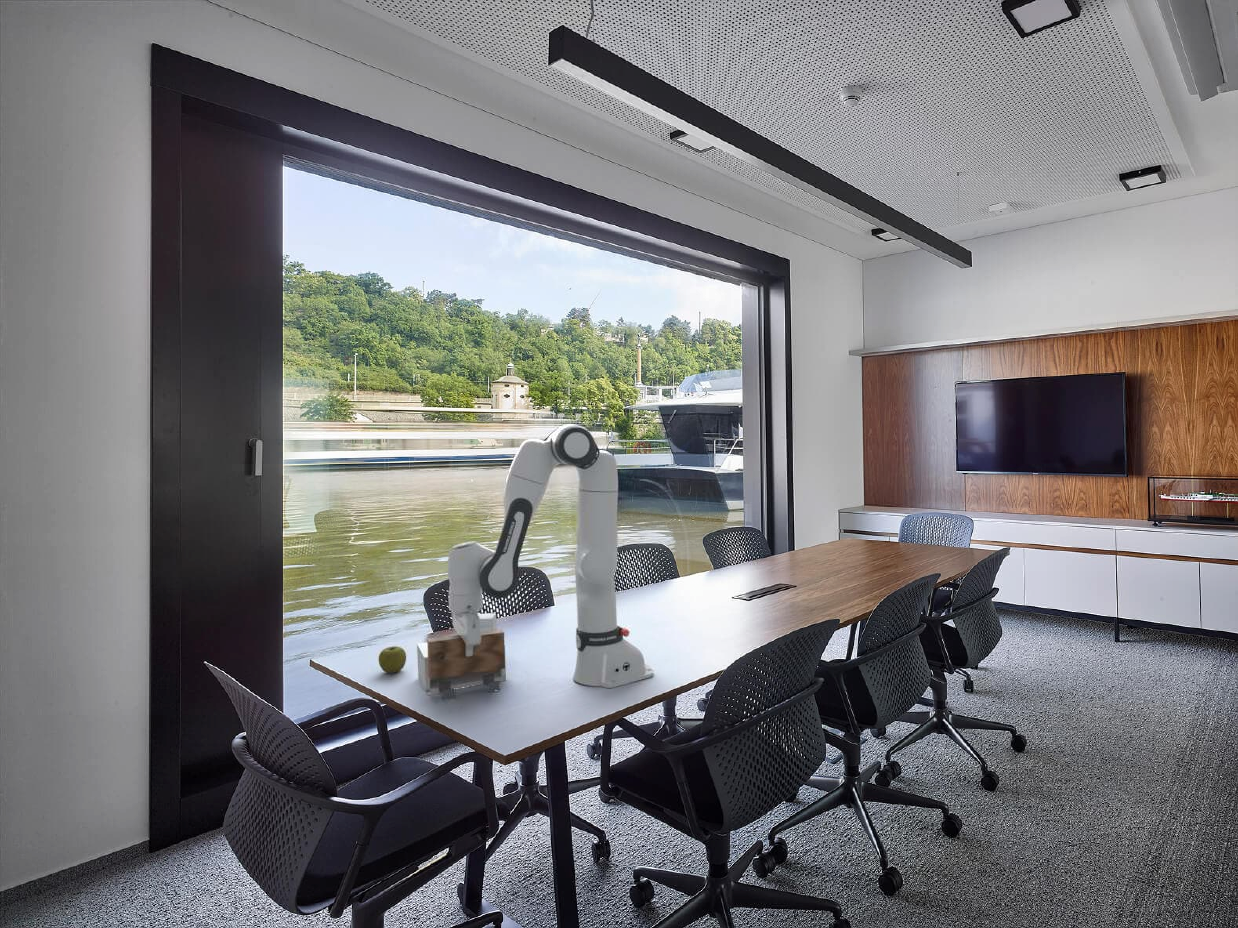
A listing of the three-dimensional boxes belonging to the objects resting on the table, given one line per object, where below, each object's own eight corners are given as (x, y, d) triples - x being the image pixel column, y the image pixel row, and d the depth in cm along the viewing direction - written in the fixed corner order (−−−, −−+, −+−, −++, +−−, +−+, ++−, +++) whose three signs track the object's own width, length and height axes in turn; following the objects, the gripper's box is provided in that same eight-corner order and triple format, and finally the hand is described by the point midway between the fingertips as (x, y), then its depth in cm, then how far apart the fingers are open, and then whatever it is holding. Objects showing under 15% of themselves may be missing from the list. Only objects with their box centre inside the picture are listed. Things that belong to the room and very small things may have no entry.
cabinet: (494, 666, 211) (492, 632, 210) (512, 688, 192) (511, 652, 191) (418, 678, 202) (417, 643, 202) (429, 702, 183) (428, 664, 183)
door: (502, 665, 196) (501, 629, 195) (505, 669, 192) (504, 633, 192) (428, 676, 188) (427, 639, 187) (430, 680, 184) (429, 643, 184)
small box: (498, 653, 223) (496, 612, 222) (494, 660, 216) (492, 618, 216) (472, 654, 223) (470, 613, 222) (467, 660, 216) (466, 618, 216)
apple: (373, 675, 205) (372, 651, 205) (391, 666, 213) (390, 643, 213) (394, 678, 203) (393, 653, 202) (412, 669, 210) (411, 645, 210)
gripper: (486, 609, 181) (487, 662, 182) (469, 593, 200) (471, 641, 200) (461, 612, 179) (463, 666, 179) (447, 596, 197) (448, 644, 198)
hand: (467, 653), depth 190 cm, fingers closed on door, 3 cm apart
